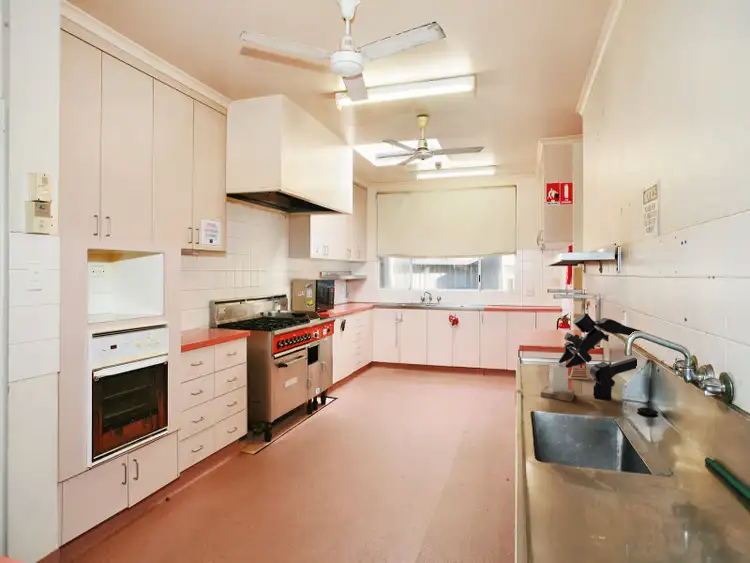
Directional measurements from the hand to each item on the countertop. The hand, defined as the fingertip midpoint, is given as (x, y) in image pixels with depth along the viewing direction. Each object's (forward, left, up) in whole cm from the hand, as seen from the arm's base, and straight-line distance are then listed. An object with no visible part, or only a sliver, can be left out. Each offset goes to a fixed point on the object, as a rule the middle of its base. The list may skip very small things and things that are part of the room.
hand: (562, 364), depth 192 cm
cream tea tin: (+1, +1, -12) cm, 12 cm away
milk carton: (-1, -42, -14) cm, 45 cm away
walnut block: (+1, +1, -14) cm, 14 cm away
